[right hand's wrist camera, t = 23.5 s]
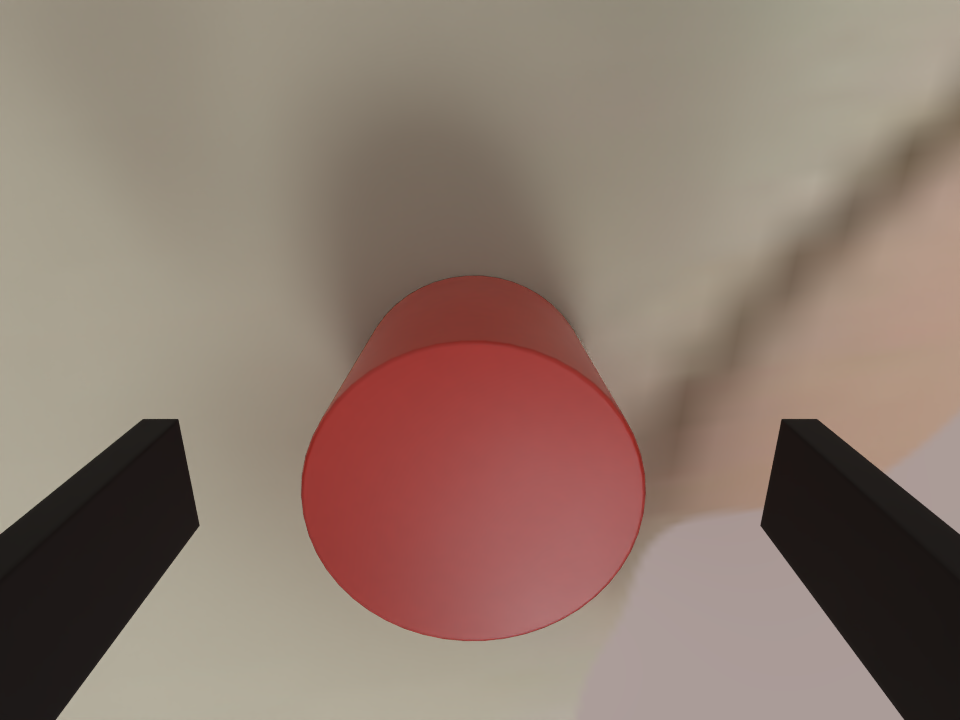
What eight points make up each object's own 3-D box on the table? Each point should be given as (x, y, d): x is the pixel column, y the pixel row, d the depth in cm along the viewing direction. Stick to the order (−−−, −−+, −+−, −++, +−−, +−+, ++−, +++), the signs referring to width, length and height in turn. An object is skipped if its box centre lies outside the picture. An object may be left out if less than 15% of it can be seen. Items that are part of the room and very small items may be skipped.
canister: (632, 356, 19) (719, 463, 12) (503, 520, 21) (516, 689, 14) (439, 227, 18) (417, 267, 11) (320, 415, 20) (239, 547, 13)
